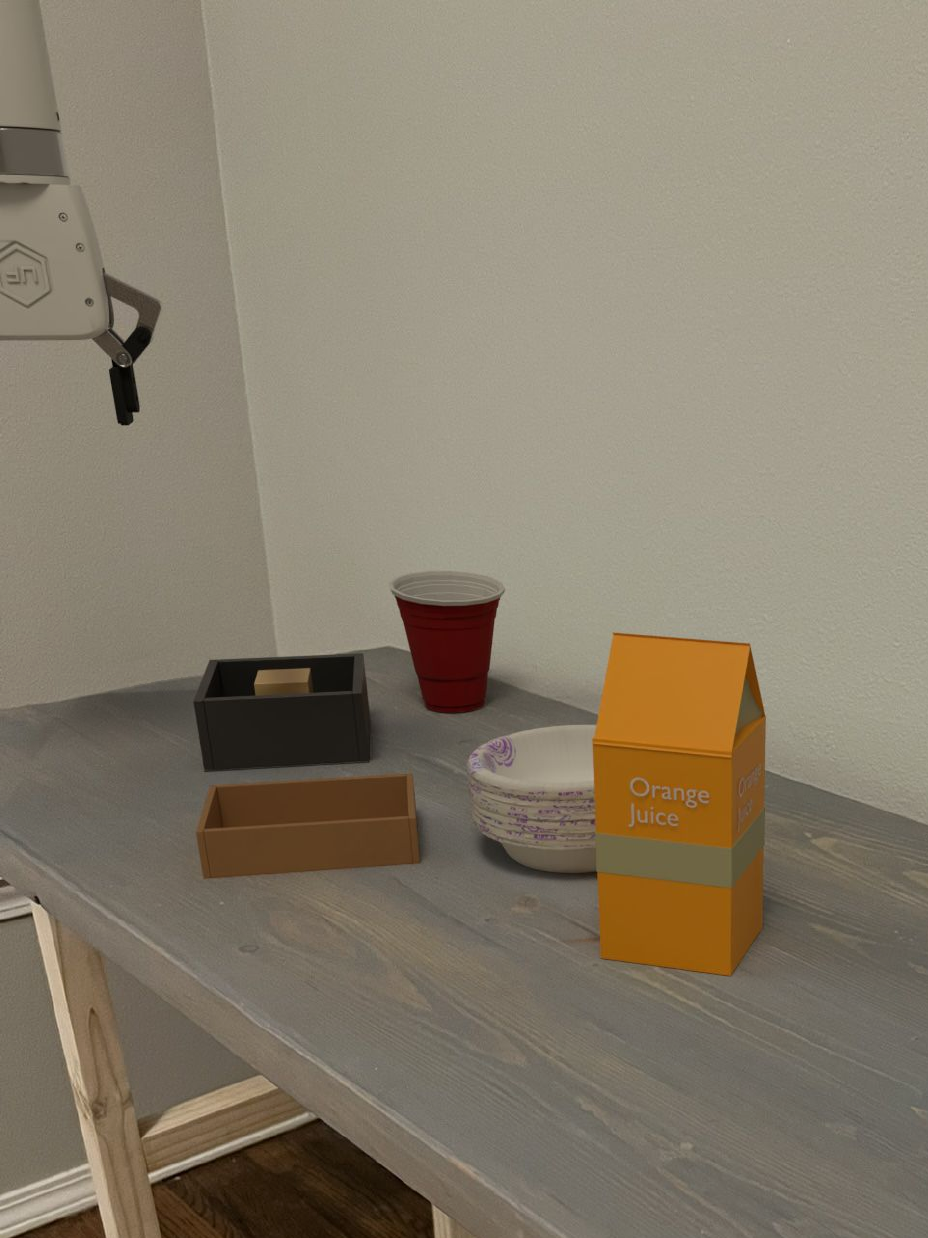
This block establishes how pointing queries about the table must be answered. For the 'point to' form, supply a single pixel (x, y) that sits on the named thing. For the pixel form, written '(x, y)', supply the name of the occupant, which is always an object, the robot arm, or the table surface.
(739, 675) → the orange juice
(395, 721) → the table surface
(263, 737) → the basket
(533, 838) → the paper bowls
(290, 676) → the block
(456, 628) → the plastic cup
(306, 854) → the box
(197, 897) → the table surface
